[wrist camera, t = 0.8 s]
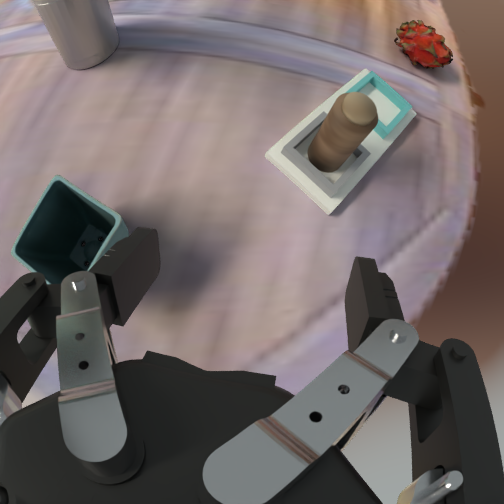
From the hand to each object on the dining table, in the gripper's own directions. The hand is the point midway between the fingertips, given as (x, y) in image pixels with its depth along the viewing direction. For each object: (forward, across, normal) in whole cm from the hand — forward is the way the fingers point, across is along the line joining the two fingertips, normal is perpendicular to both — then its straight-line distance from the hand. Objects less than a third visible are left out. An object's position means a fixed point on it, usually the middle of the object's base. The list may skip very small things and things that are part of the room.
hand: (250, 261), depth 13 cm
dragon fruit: (+48, -20, -15) cm, 54 cm away
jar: (+27, -4, +2) cm, 28 cm away
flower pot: (+15, +20, +11) cm, 27 cm away
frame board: (+32, -8, -1) cm, 33 cm away
